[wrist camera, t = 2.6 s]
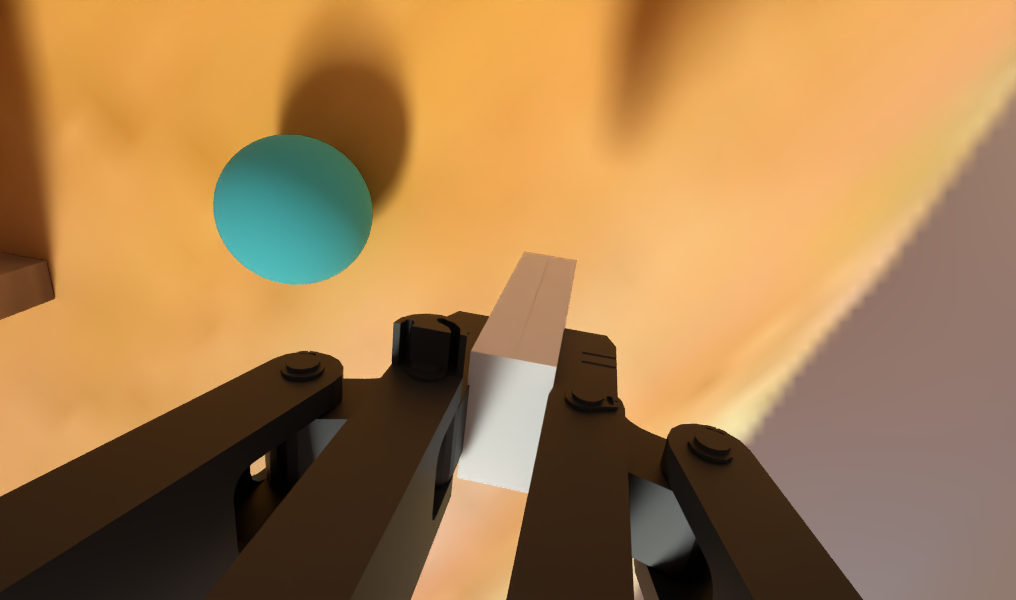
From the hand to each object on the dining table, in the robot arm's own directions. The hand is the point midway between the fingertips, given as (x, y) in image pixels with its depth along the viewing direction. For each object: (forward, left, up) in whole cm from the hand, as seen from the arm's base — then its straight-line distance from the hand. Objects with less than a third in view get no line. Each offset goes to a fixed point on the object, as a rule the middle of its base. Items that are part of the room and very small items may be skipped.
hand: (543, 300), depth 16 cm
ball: (0, -10, -4) cm, 11 cm away
